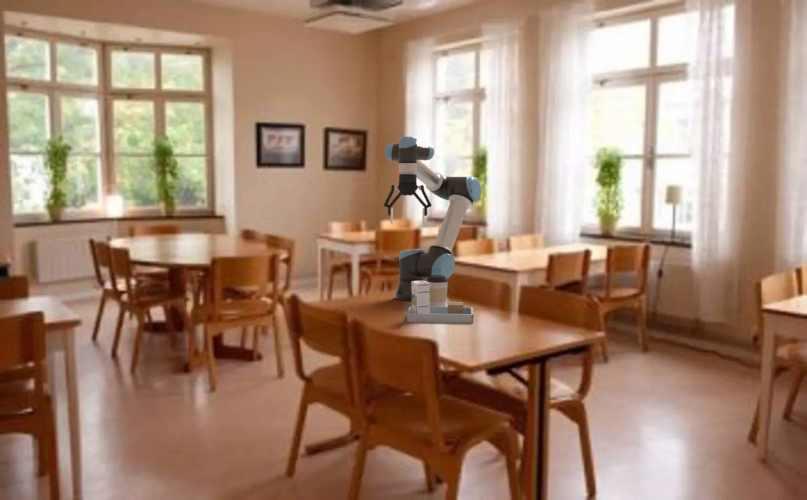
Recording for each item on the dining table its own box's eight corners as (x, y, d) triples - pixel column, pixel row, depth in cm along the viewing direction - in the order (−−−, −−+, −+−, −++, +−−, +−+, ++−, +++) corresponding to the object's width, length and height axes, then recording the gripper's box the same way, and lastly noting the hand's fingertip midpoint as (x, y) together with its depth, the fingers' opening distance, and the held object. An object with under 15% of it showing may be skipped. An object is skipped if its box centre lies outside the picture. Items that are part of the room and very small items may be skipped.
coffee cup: (448, 308, 294) (448, 274, 292) (447, 312, 285) (447, 276, 283) (427, 307, 295) (427, 273, 293) (425, 311, 286) (426, 276, 284)
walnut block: (448, 316, 271) (448, 301, 271) (463, 317, 271) (463, 302, 270) (447, 319, 265) (448, 304, 265) (463, 320, 265) (463, 304, 264)
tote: (409, 315, 278) (409, 305, 277) (472, 316, 275) (472, 307, 275) (406, 323, 262) (406, 313, 261) (473, 325, 260) (473, 314, 259)
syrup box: (430, 318, 268) (430, 282, 266) (416, 319, 266) (416, 282, 264) (424, 315, 273) (424, 280, 272) (410, 316, 271) (410, 280, 269)
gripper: (377, 173, 285) (377, 223, 287) (436, 173, 283) (436, 224, 285) (379, 173, 293) (379, 222, 295) (437, 173, 290) (437, 223, 293)
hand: (407, 223), depth 290 cm, fingers open, 13 cm apart
